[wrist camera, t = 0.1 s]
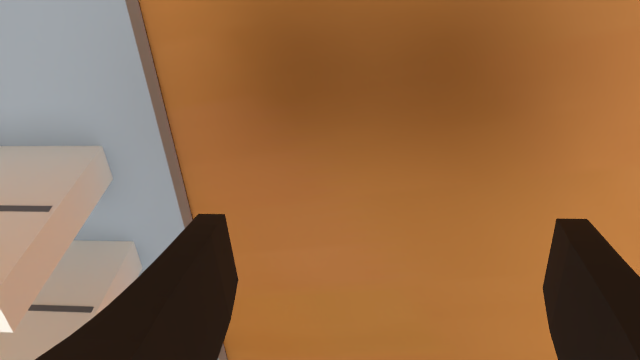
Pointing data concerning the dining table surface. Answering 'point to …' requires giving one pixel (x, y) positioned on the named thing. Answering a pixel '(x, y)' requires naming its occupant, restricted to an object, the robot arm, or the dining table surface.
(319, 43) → the dining table surface
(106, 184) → the end domino
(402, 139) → the dining table surface
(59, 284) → the domino
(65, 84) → the domino board
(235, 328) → the dining table surface
